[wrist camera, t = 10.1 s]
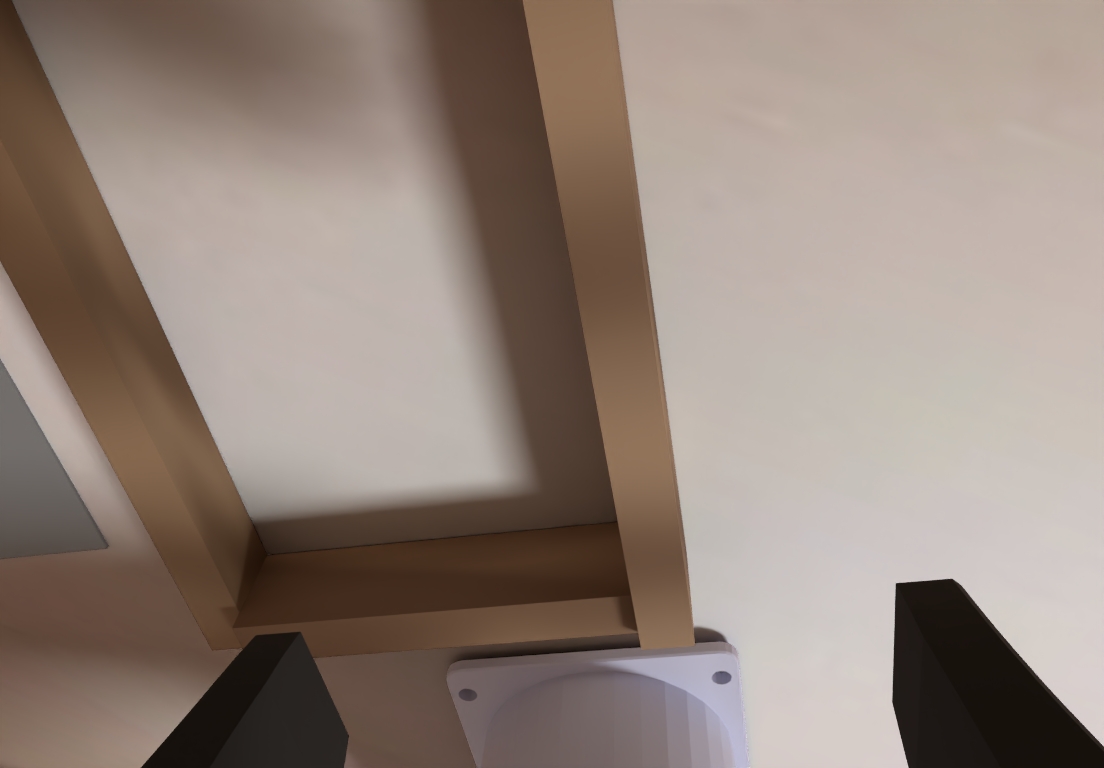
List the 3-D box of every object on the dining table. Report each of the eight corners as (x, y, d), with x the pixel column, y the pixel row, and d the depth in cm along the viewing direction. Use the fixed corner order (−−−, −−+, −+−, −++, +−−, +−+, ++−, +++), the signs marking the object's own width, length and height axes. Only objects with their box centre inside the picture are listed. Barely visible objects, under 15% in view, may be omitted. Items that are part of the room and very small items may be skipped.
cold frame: (686, 552, 22) (695, 645, 20) (240, 592, 24) (195, 682, 22) (564, -359, 13) (552, -404, 10) (-145, -186, 15) (-303, -188, 12)
